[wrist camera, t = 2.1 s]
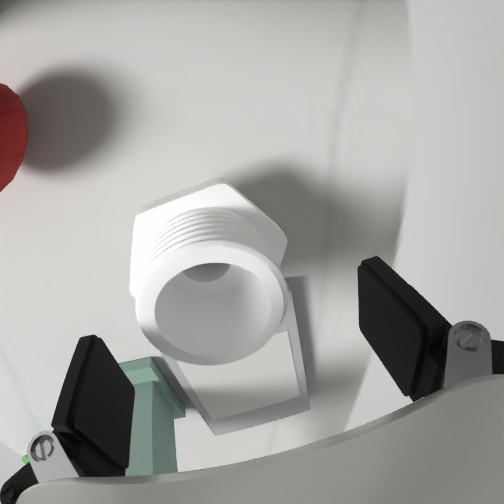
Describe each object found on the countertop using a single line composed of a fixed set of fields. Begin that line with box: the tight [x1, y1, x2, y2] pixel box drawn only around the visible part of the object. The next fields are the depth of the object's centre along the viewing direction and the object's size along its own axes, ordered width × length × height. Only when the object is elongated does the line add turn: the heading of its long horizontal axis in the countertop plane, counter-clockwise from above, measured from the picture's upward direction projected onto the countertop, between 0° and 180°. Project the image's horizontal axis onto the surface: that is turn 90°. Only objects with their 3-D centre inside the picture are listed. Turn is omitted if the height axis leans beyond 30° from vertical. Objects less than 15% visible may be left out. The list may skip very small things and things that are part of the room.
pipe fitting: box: [129, 178, 288, 366], centre depth 14 cm, size 6×7×8 cm
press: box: [111, 280, 310, 477], centre depth 14 cm, size 14×16×20 cm
